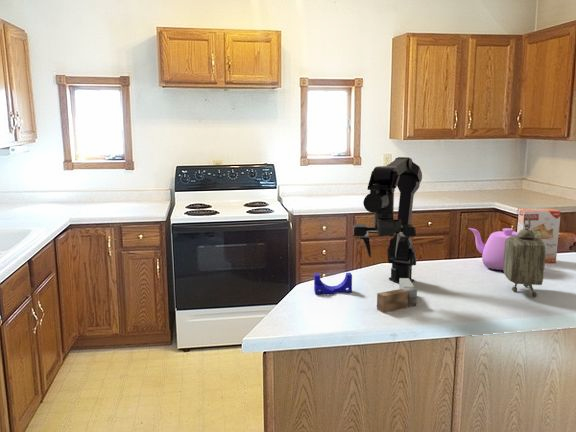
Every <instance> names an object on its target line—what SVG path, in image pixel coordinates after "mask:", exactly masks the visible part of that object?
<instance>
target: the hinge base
mask: <svg viewBox="0 0 576 432" xmlns="http://www.w3.org/2000/svg"><path fill="white" fill-rule="evenodd" d="M417 300H418V297H417V298H415V299H408V291H406V290H403V289H399V288H398V289H393V290H388V291H382V292H377V293H376V310H377V311H379V312H381V313H387V312H389V313H390V312H393V311H398V310H399V311H400V310H402V309H407V308H415V307H417V305H418V303H417Z"/></svg>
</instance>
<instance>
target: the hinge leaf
mask: <svg viewBox="0 0 576 432" xmlns="http://www.w3.org/2000/svg"><path fill="white" fill-rule="evenodd" d="M398 289H403V290H406V291H408V299H415V298H417V299H418V288H416V287H415V286H414V284H413V283H412V282H411V281H410V279H409V278H399V283H398Z"/></svg>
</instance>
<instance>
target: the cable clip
mask: <svg viewBox="0 0 576 432" xmlns="http://www.w3.org/2000/svg"><path fill="white" fill-rule="evenodd" d="M313 278H314V280H313V281H314V283H313V288H314V289H313V292H314V294H315V296H317V295H318V296H319V295H320V296H322V295H324V294H325V296H326V295H327V294H329V295H334V294H345V293H346V294H352V292H353V275H352V273H351V272H346V273H345V276H344V279H343V281H341V282H340V283H339V284H337V285H334V286H333V285H328V284H326V283H324V282H323V280H321V276H320V273H318V272H317V273H313Z"/></svg>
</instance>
